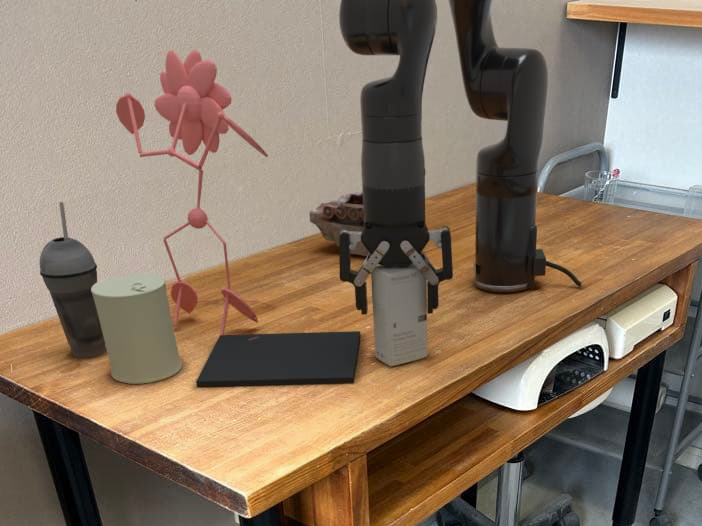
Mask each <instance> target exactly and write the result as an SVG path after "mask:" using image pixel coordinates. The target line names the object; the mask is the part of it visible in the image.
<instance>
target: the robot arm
mask: <svg viewBox="0 0 702 526" xmlns="http://www.w3.org/2000/svg"><path fill="white" fill-rule="evenodd" d="M448 4H449V5H448V6H449V10H450V14H451V18H452V22H453V23H452V24H453V29H454V34H455V39H456V47H457V53H458V60H459V65H460V66H459V67H460V72H461V78H462V79H461V80H462V83H463V89H464V94H465V98H466V100H467V103H468V106H469V108H470V110H471V111H472V113H473V114H474V115H475V116H477V117H478V118H481V119H485V120H493V121H504V122H507V124H506V131H505V135H504V137H503V139H501V140H500V141H498V142H497V143H493V144H490V145H487V146H485V147H483V148H481V149H479V150H478V152H477V155H476V169H475V170H476V171H475V173H476V174H475V244H474V245H475V248H474V251H475V252H474V259H473V260H472V261H473V266H472V267H473V272H474V283H473V284H474V286H475V287H476V288H478V289H480V290H482V291H485V292H490V293H499V294H501V293H503V294H504V293H505V294H507V293H508V294H509V293H517V292H521V291H525V290H534V289H535V280H536V279H535V278H536V277H543V276H546V271H547V268H546V267H549V268H552V269H554V270H557V271H559V272H561V273H563V274H565V275H566V276H568V277H569V279H571V280H572V282H573V283H574V284H575V285H576V286H577V287H582V281H580V280H579V278H578V277H576V276H575V274H574V273H572V271H570V270H569V269H567V268H566V267H563V266H562V265H559V264H557V263H553V262H550V261H548V260H547V257H546V254H545V252H544V249H543V248H537V239H538V227H537V226H538V225H537V223H536V218H537V217H536V215H537V200H538V199H537V197H538V177H539V160H540V156H541V152H542V148H543V142H544V134H545V133H544V132H545V131H544V130H545V122H546V114H547V113H546V111H547V102H548V92H549V70H548V64H547V60H546V58H545V56H544V54H543V53H542V52H541V51H540V50H539V49H536V48H530V47H502V46H501V47H500V46H499V45H498V43H497V41H496V38H495V34H494V33H495V32H494V27H493V22H492V21H493V20H492V6H493V0H448ZM338 11H339V12H338V21H339V22H338V24H339V30H340V34H341V37H342V40H343V41H344V44H345V46H346V47H347V48H348V49H349V50H350V51H351V52H352V53H354V54H355V55H360V56H368V57H369V56H399V57H398V58H399V61H398V64H397V67H396V69H395V71H394V73H393V75H391V76H388V77H385V78H380V79H375V80H372V81H370V82H367V83H365V84H364V85H363V86H362V88H361V91H360V97H359V103H360V104H359V105H360V121H361V122H360V123H361V125H360V127H361V144H362V145H361V155H360V156H361V157H360V167H361V184H362V185H361V187H362V192H363V209H364V229H363V231H362V232H357V231H350V230H349V229H347V228H344V229H342V231H341V233H340V237H339V246H338V248H339V249H338V250H339V251H338V252H339V253H338V254H339V257H338V258H339V260H338V261H339V262H338V263H339V264H338V265H339V280H340V281H341V282H343V283H346V282H347V283H350V284H352V285H353V288H354V299H355V300H354V301H355V308H356V310H357V311H360V312H361V315H363V316H364V315H365V316H366V315H368V311H369V309H368V308H369V307H368V288H367V285H368V284H367V279H368V278H369V277H370V276H371V273H372V272H373V270H374V269H375V267H376V266H381V265H382V266H383V267H392V266H400V267H408V266H409V265H411V264H413V263H414V265H415V266H416V267H417V269H418V270H419V271H420V272H421V273H422V274H423V275H424V276H425V278H426V290H427V315H430V314H431V315H432V314H434V310H437V309H438V307H439V286H440V283H442V282H443V281H450V280H451V279H453V278H454V269H453V254H452V253H453V251H452V236H451V229H450V227H449V226H446V225H445V226H442V227H441V228H439V229H429V228H428V227H427V223H426V163H425V152H424V151H425V150H424V143H423V115H422V114H423V94H424V85H425V80H426V75H427V68H428V64H429V59H430V56H431V52H432V48H433V43H434V39H435V36H436V35H435V34H436V31H437V26H438V24H437V23H438V7H437V2H436V0H340V5H339V10H338ZM359 241H361V242H362V244H363V245H364V246H365V247H366V249H367V250H368V251H369V255H368V256H366V258H365V259H364V261H363V263H361V266H360V267H359V268H358V269H357V270H355V269H351V254H350V250H354V249H355V247H356V244H357V242H359ZM429 241H432V242H433V243H434V247H436V248H437V249H441V260H442V262H441V263H442V267H440V268H438V269H436V268H435V266H434V265H433V264H432V263H431V261H430V260H429V258H428V257H427V255H426V253H424V251H423V250H424V249H425V247H426V246H427V245H428V243H429Z"/></svg>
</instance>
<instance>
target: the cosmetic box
mask: <svg viewBox="0 0 702 526" xmlns="http://www.w3.org/2000/svg"><path fill="white" fill-rule="evenodd" d="M370 277H371V278H370V279H371V300H372V318H373V337H374V356H375V358H376V359H377V360H379V361H380V362H382V363H383V364H385V365H387V366H388V367H394V366H399V365H402V364H406V363H411V362H414V361H418V360H421V359H424V358H427V357H428V355H429V352H428V351H429V350H428V349H429V347H428V345H429V344H428V301H427V279H426V278H425V276H424V275H423V274H422V273H421V272H420V271H419V270H418V269H417V267H416V266H415V265H414V263H413V264H411V265H409V266H408V267H400V266H392V267H383V266H382V265H377V266H376V267H375V269H374V270H373V272H372V273H371V274H370Z"/></svg>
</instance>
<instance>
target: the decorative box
mask: <svg viewBox="0 0 702 526" xmlns="http://www.w3.org/2000/svg"><path fill="white" fill-rule="evenodd" d="M309 221H310V223H311V224H313V225H315V226H316V228H317V229H318V230H319V231H320V234H321V236H322V238H323V240H325V241H329V242H334V243H335V245H337V246H338V247H339V237H340V233H341V231H342V229H344V228H347V229H349V230H350V231H357V232H362V231H363V229H364V209H363V191H355V192H350V193H347V194H345V195H341V196H340V197H338V199H337V200H331V201H329V202H325V203H323V202H321V203H320V204H319V206H317V207H316V208H315V209H313V210H310V211H309ZM350 255H356V256H357V255H358V256H363V257H367V256H368V255H369V251H368V250H367V249H366V247H365V246H364V245H363V244H362V242H361V241H359V242H357V244H356V247H355V249H354V250H350Z"/></svg>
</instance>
